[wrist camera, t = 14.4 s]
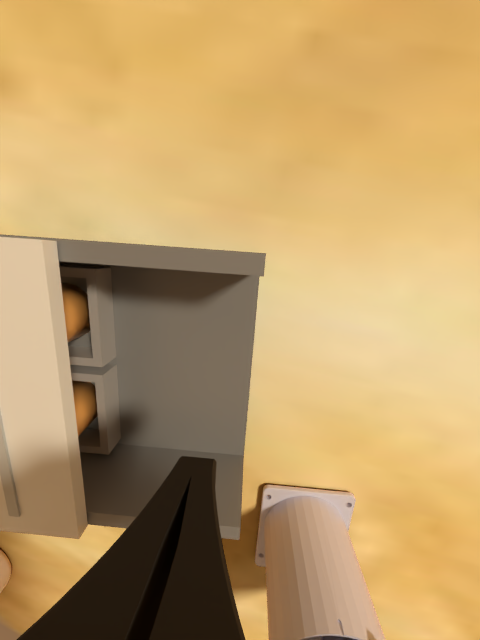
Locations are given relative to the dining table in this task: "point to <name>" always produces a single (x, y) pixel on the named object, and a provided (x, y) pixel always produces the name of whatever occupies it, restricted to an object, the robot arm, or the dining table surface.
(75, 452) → the lid
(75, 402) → the orange rounded block
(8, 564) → the milk bottle
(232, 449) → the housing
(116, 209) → the dining table surface
